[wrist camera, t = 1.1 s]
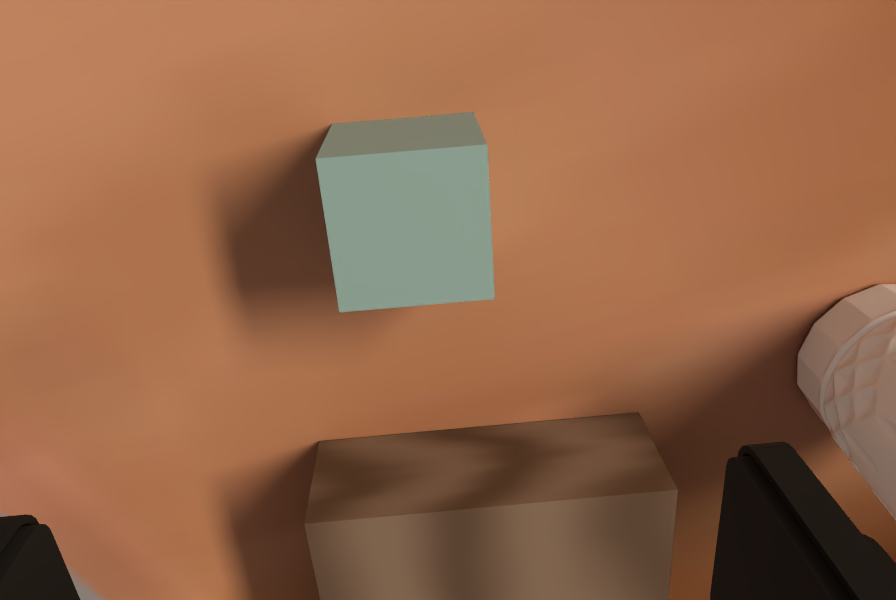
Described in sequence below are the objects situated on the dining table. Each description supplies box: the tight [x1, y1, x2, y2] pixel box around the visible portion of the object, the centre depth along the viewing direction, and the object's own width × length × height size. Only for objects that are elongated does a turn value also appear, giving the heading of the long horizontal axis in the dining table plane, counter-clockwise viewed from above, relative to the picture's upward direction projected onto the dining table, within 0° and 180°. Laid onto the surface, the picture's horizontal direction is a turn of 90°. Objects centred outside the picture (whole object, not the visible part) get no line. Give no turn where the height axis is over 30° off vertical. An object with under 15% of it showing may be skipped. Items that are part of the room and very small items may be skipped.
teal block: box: [316, 112, 495, 312], centre depth 24 cm, size 5×5×5 cm
